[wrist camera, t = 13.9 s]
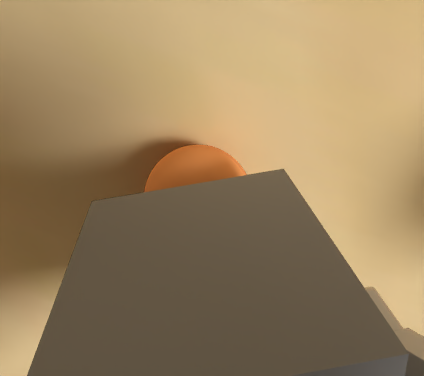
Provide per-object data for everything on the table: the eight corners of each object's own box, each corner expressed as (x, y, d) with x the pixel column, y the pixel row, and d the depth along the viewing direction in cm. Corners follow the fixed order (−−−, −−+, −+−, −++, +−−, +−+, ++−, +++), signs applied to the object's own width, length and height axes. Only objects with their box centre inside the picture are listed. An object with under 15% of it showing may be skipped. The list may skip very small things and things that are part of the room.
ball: (137, 243, 14) (160, 273, 18) (268, 220, 14) (258, 255, 18) (127, 132, 16) (150, 184, 20) (241, 113, 16) (238, 169, 20)
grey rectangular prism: (92, 201, 13) (7, 429, 6) (283, 168, 13) (409, 353, 6) (136, 334, 16) (114, 580, 9) (289, 306, 17) (376, 526, 10)
